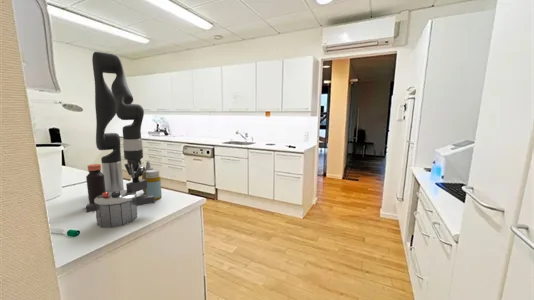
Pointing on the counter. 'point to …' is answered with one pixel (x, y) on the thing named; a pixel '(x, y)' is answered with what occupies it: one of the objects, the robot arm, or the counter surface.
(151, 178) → the bottle
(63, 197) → the counter surface
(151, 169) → the squeeze bottle
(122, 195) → the lid
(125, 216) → the pot
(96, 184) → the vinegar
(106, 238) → the counter surface
